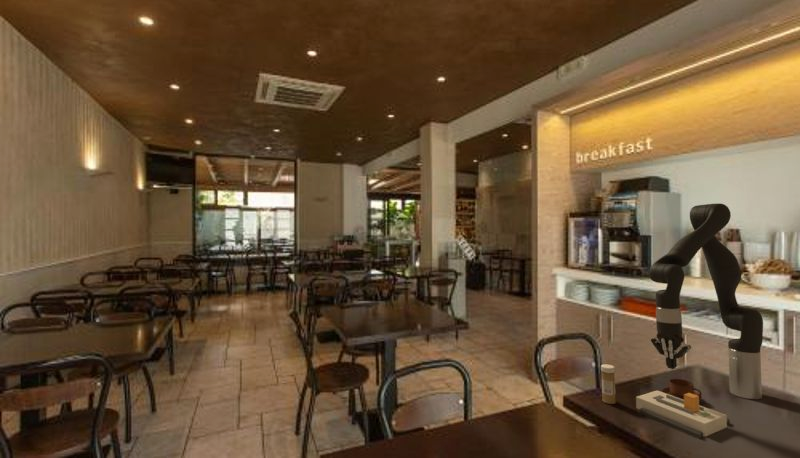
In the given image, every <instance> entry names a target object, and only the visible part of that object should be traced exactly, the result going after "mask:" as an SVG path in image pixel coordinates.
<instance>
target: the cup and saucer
mask: <svg viewBox="0 0 800 458" xmlns="http://www.w3.org/2000/svg"><path fill="white" fill-rule="evenodd" d="M694 386H695V385H694V383H693V382H692V381H689V380H686V379H679V378H672V379H670V380H669V386H668V387H664V388H663V389H662V392H663V393H666V394H669V395H672V396H674V397H677V398H680V399H683V400H684V394H687V393H691V394H694V395H697V396H699V402H700V401H702V399H703V398H702V395H703V394H702V391H701V390H700V389H699V388H697V387H694ZM696 391H697V392H698V393H697V392H696Z"/></svg>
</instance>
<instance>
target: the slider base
mask: <svg viewBox="0 0 800 458" xmlns="http://www.w3.org/2000/svg"><path fill="white" fill-rule="evenodd" d="M635 401H636V402H635V403H636V405H635V407H636V409H637V410H640V408H644V409H647V410H649V411H652V412H654V413H657V414H659V415H661V416H664V417H666V418H669V419H671V420H674V421H676V422H679V423H681V424H683V425H686V426H688V427H691V428H693V429H696V430H698V431H700V432H703V436H702V437H708V436H710V435H713V434H715V433H717V432H719V431H722V430H724V429H726V428H727V427H728V426H727V419H728V418H727V414H724V413H722V412H719V411H717V410H713V409H712V408H708V407H705V406H702V405H700V404H699V411H696V412H694V411H692V410H689V409H686V408H684V400H683V399H680V398H677V397H674V396H672V395H669V394H666V393H663V391H660V390H654V391H651V392H647V393H645V394H641V395H637V396H636V397H635Z"/></svg>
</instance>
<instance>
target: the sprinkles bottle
mask: <svg viewBox="0 0 800 458" xmlns="http://www.w3.org/2000/svg"><path fill="white" fill-rule="evenodd" d="M600 371H601V393H602V399H601V401H602V402H604V404H605V403H606V404H609V405H613V404H616V383H615V372H616V367H615V366H614V365H612V364H607V363H605V364H604V363H603V364H601V365H600Z"/></svg>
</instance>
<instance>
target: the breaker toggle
mask: <svg viewBox="0 0 800 458" xmlns="http://www.w3.org/2000/svg"><path fill="white" fill-rule="evenodd" d="M699 405H700V401H699V396H697V395H694V394H691V393H687V394H684V408H686V409H689V410H692V411H694V412H696V411H699Z"/></svg>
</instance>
